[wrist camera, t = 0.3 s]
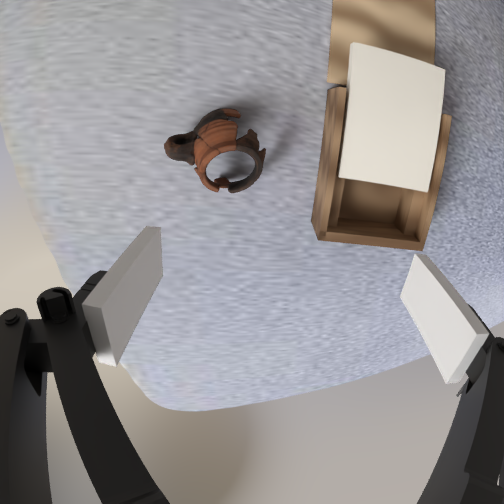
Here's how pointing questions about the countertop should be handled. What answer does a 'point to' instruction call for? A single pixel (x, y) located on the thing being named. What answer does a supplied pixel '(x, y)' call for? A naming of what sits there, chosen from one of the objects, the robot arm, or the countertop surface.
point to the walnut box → (370, 194)
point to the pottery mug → (216, 148)
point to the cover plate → (390, 118)
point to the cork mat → (380, 31)
